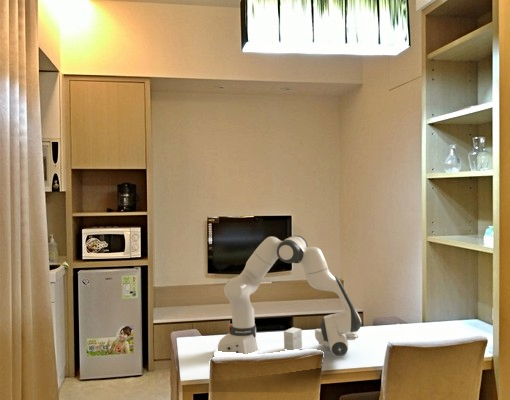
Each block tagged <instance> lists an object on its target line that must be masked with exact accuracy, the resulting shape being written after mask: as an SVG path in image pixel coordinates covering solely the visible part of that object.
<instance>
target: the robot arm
mask: <svg viewBox="0 0 510 400" xmlns="http://www.w3.org/2000/svg"><path fill="white" fill-rule="evenodd" d="M278 259H279V260H280V261H281V262H284V263H286V264H287V263H288V264H299V263H300V264H301V266H302V268H303V271H304V275H305V278H306V280H307V283H308V285H309V286H310V287H312V288H313V289H315V290H319V291H327V292H331V293H332V292H333V293H335V294H336V295H337V296H338V297H339V300H340V301H341V303H342V305H343V307H344V310H343V311H340V312H337V313H336V312H335V313H332V314H328V315H325V316H323V317H322V318H321V320H320V322H319V323H320V328H315V329H314V337H315V340H316V341H317V342H318V345H320V346H325V347H326V346H329V348H330V352H331V353H332V354H333V355H334V356H336V357H344V356H345V355H347V353H348V351H349V341H356V339H359V334H357V332H358V331H359V330H360V329H361V327H362V318H361V317H360V314H359V313H358V311H357V310H356V309H355V307H354V305H353V303H352V300H351V298H350V296H349V295H348V293H347V290H346V288H345V287H344V286H343V283H342V282H341V280H340V278H339V277H338V276H334V275H333V274H332V273H331V271H330V269H329V267H328V263H327V260H326V258H325V256H324V254H323V251H322V250H321V249H320V248H319V247H317V246H310V247H309V246H308V242H307V240H306V239H305V238H304V237H303V236H301V235H293V236H289V237H288V238H285V239H283V240H281V239H279V238H278V237H276V236H268V237H266V238H264V240H263V241H262V242H261V243H260V244H259V245H258V246H257V248H256V249H255V250H254V251H253V253H252V254H251V255H250V257H249V258H248V260H247V261H246V263H245V266H244V269H243V270H242V271H241V273H240V274H238V275H237V276H235V277H233V278H231V279H229V280H228V281H227V283H226V284H225V285H224V287H223V292H224V296H225V298H227V299H228V301H229V304H230V309H231V318H232V319H231V322H232V323H230V324H228V330H227V331H228V333H227V334H225V335H224V336H223V337H222V338H221V339H220V340H219V342H218V344H217V348H218V351H222V352H236V353H243V354H248V353H252V352H255V351H257V350H258V351H259V349H258V345H257V344H258V343H257V337H256V336H257V326H256V323H255V321H256V320H255V308H254V307H253V306H252V302H251V300H250V296H251V295H252V294H254V293H255V292H256V291H257V290H258V288H259V286H260V285H261V283H262V281H263V279H265V278H264V277H265V276H266V275H267V274H268V272H269V271H270V269H271V268H272V267H273V265H274V264H275V263H276V261H278Z"/></svg>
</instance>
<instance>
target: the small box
mask: <svg viewBox="0 0 510 400" xmlns="http://www.w3.org/2000/svg"><path fill="white" fill-rule="evenodd" d="M302 330H303V329H302V328H298V327H293V326H292V327H291V328H288V329H286V330H283V344H284V345H283V347H284V349H287V350H294V349H300V348H302V349H303V337H302V336H303V333H302ZM284 349H283V350H284Z"/></svg>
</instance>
